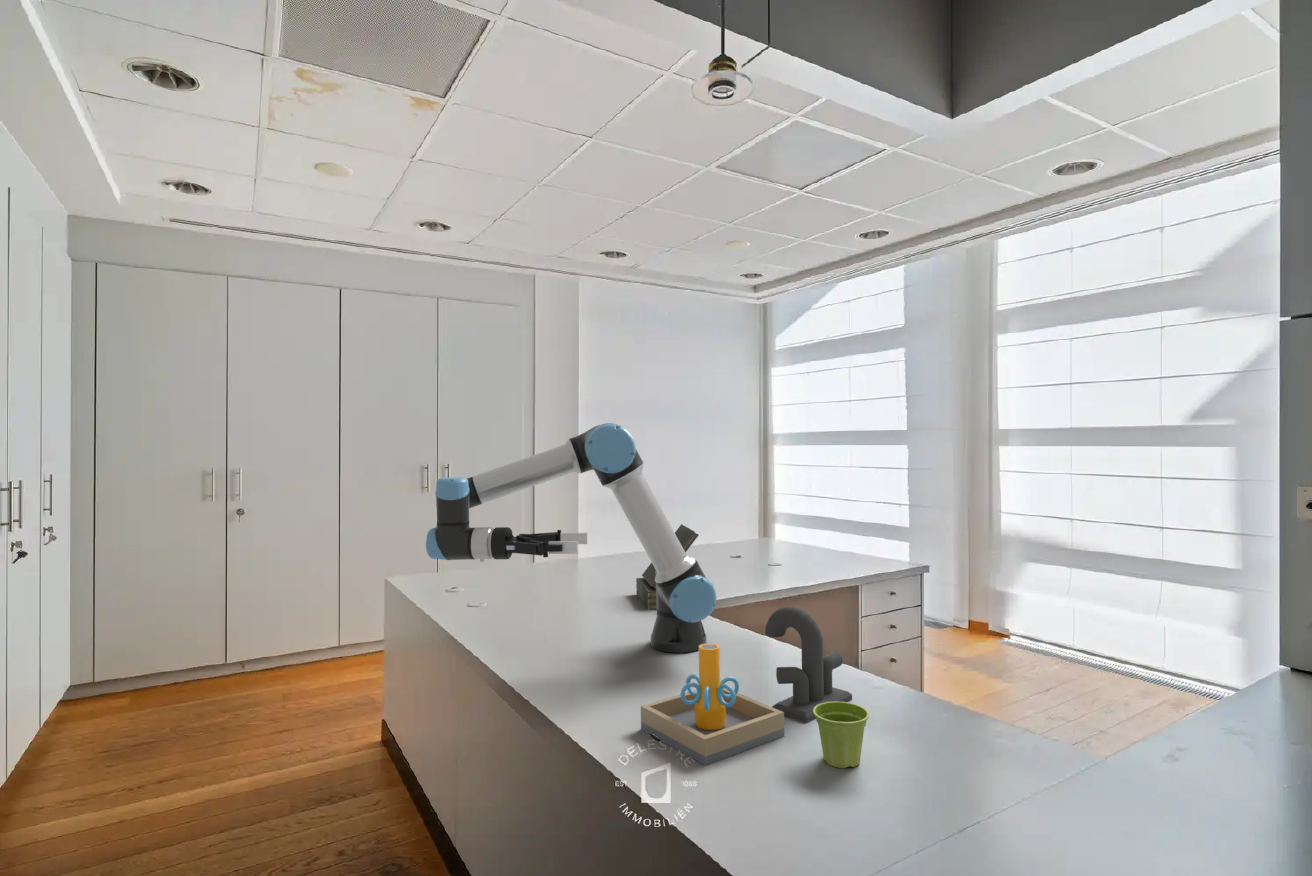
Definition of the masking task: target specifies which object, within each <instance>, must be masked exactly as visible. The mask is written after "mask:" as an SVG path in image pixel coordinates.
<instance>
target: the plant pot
mask: <svg viewBox="0 0 1312 876" xmlns="http://www.w3.org/2000/svg"><path fill="white" fill-rule="evenodd" d="M813 713H814V715H815V716H816V720H815V721H816V722H817V726H818V731H819V737H820V742H821V743H820V744H821V749H822V750H821V751H822V756H823V760H824V761H825V762H826V763H827V765H829V766H831V767H835V768H838V769H847V768H850V767H852V768H855V767H857V766H859V765H860V762H861V755H862V748H863V742H864V741H863V740H864V732H865V727H866V726H867V721H868V719H869V718H870V713H869V710H868V709H866V708H865V707H864V706H861V705H858V704H856V703H852V702H849V701H848V702H825V703H821V704H818V705H817V706H815V707H814V709H813Z"/></svg>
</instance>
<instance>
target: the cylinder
mask: <svg viewBox="0 0 1312 876" xmlns="http://www.w3.org/2000/svg"><path fill="white" fill-rule="evenodd" d="M720 650H721V649H720V645H718V644H717V643H707V644H701V645H699V650H698V675H697V674H694V673H693V674H690V675H688V676H687V678H686V680H685V685H683V687H682V688H681V690H680V695H681V700H682V701H683V703H685V704H686V705H694V704H695V725H696V726H697V727H698V728H700V729H704V730H718V729H721V728H723V727H725V725H726V707H732V706H733V705H734V703H735V700H736V696H735V695H736V694H737V693H739V690H740V685H739V681H738V680H737V679H736V677H734V676H726V677H724V678H723V679H721V656H720V655H721V651H720ZM693 679H695V681H696V682H697V683H696V682H691V680H693ZM727 682H732V683H734V689H733V687H732V686H731V685H729V684H727ZM692 688H695V690H697V693H696V692H694V690H693V689H692ZM724 688H726V689H728V690H729V692H730V693H731V694H729V695H726V694H725V693H724V692H723V689H724ZM686 691H688V692H689V693H690V694H691V695H692V696H695V697H696V698H695V699H694V700H692V701H688V700H686V698H685V693H686ZM723 698H725V699H731V698H732V699H731V702H730V703H726V702H725V701H724V699H723Z"/></svg>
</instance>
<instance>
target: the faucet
mask: <svg viewBox="0 0 1312 876" xmlns="http://www.w3.org/2000/svg"><path fill="white" fill-rule="evenodd" d="M788 628H793V629H794V630H795V631H796V632H797V634H799V637H800V640H801V644H800V645H801V668H799V667H797V666H779V667H776V671H775V672H776V673H775V674H776V681H777V684H778V685H788V684H789V685H790V684H792V695H791V696H790V697H788V698H787V697H786V698H785V699H783V700H781V701H779V702H777V703H775V704H774V705H772V706H771V707H773V708H775V709H777V710H780V711H782V712H784V717H786V718H790V719H792V720H797V721H798V722H799V721H800V722H802V723H806V724H808V723H810V722H811V721H813V720H815V719H816V716H815V715H814V713H813V709H814V707H815V706H817V705H818V704H821V703H825V702H848V703H849V702H850V701H852V700H853V693H851V692H850V691H848V690H843V689H841V688H838V687H833V670H836V669H837V668H839V667H841V666H842V665H843V657H842V655H841V654H840V653H839V652H837V651H832V652H829V653H827V654H825V655H824V641H823V640H824V639H823V634H822V631H821V628H820V627H819V625H818V623H817V621H816V620H815V618H814V617H813V616H812V615H811V614H810V613H808V612H807V611H806V610H805V609H802V608H800V607H798V606H793V605H791V606H790V605H788V606H787V605H785V606H783V607H782V606H781V607H780V608H778V609H776V610H775V611H774V612H772V613H771V614H770V616H769V617H768V619H767V623H766V624H765V631H764V634H765V635H766V636H767V637H768V638H782V637H784V636H785V635H786V632H787V630H788Z"/></svg>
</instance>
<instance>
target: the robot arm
mask: <svg viewBox="0 0 1312 876" xmlns="http://www.w3.org/2000/svg"><path fill="white" fill-rule="evenodd" d="M644 465H645V464H644V462H643V459H642V457H641V455H640V454H639V452H638V450H637V447H636V443H635V439H634V437H633V436H632V434H631V433H630V431H628V429H627V428H625V427H623V426H622V425H620V424H617V423H611V422H608V423H607V422H606V423H602V424H598V425H596V426H593V427H591V428H590V429H588V430H586V431H585V432H582V433H581V434H578V435H576V436H573V437H570V438H568V439H567V440H566V442H565V444H563V445H560V446H556V447H554V448H550V449H548V450H545V451H542V452H539V453H536V454H533V455H530V456H528V457H524V458H522V459H518V460H516V461H513V462H510V463H507V464H505V465H501V466H498V467H496V468H493V469H490V470H487V471H484V472H481V473H477V474H476V475H473V476H470V477H462V476H455V477H454V476H453V477H441V478H438V479H437V480H436V482H435V499H436V502H435V504H436V505H435V506H436V527H433V528H431V529H429V530H428V531H427V534H426V540H425V548H426V554H427V555H428V557H429V558H431V559H433V560H444V561H445V560H446V561H457V560H459V561H461V560H466V561H467V560H479V562H481V563H483V562H484V561H485V560H492V559H494V560H510V558H511V557H512V555H513V554H519V555H520V554H522V555H531V556H540V557H541V556H542V557H543V558H548V557H549V555H551V554H552V555H553V554H554V555H560V554H561V555H562V554H563V555H566V554H567V555H569V554H573V555H574V554H575V555H576V554H578V553H579V545H588V532H562V530H561V529H557V531H552V532H539V533H519V534H517V535H515V536H514V534H513V531H512V529H511V527H506V526H503V527H495V528H494V527H492V526H488V527H487V526H485V527H483V526H482V527H481V526H480V527H477V526H475V527H470V509H472V508H475V507H477V506H480V505H482V504H485V503H488V502H491V501H494V500H497V499H500V498H503V497H505V496H508V495H511V494H515V493H517V492H520V491H523V490H526V489H528V488H531V487H535V486H537V485H540V484H543V483H546V482H549V481H551V480H555V479H558V478H561V477H564V476H566V475H568V474H571V473H577V474H583V473H586V472H590V471H594V472H595V475H596V476H597V479H598V480H599V482H600V484H601V485H602V487H605V488H606V489H607V488H608V489H610V490H611V491H612V493H613V495H614V496H615V498H616V500H617V502H618V504H619V506H620V507H621V509H622V511H623V513H624V514H625V517H626V519H628V520H627V521H628V522H629V524H630V525H631V527H632V529H633V531H634V533H635V534H636V536H637V538H638V540H639V542H640V544H641V546H642V547H643V550H644V551H645V553H646V555H647V556H648V558H649V560H650V563H652V564H653V566H654V567H655V569H656V571H655V574H656V577H655V582H656V603H657V609H656V617H655V621H654V625H653V628H652V632H651V634H650V646H651V647H652V648H653V649H654V650H657V651H659V652H660V651H661V652H667V653H676V654H677V653H678V654H679V653H691V652H696V651H699V645H701V644H707V635H706V631H705V628H704V624H703V622H702V621H704V620H705V619H706V618H708V617H709V616H710V615H711V614H712V613H713V611H714V609H715V606H716V603H717V592H716V589H715V587H714V584H713V583H712V582H711V581H710V579H708V578H707V576H706V575H705V573H704V571H703V570H702V567H701V565H700V564H699V561H698V560H697V559H696V557H694V556H691V555H688V554H687V553H686V552H685V551H684V549H683V547H682V545H681V544H680V542H679V540H678V538H677V536H676V534H675V531H674V529H673V528H672V525H671V524H670V522H669V520H668V518H667V516H666V514H665V512H664V511H663V509H662V507H661V505H660V503H659V501H658V499H657V498H656V496H655V494H654V492H653V490H652V489H651V487H650V485H649V483H648V481H647V479H646V478H645V475H644V474H643V468H644Z"/></svg>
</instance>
